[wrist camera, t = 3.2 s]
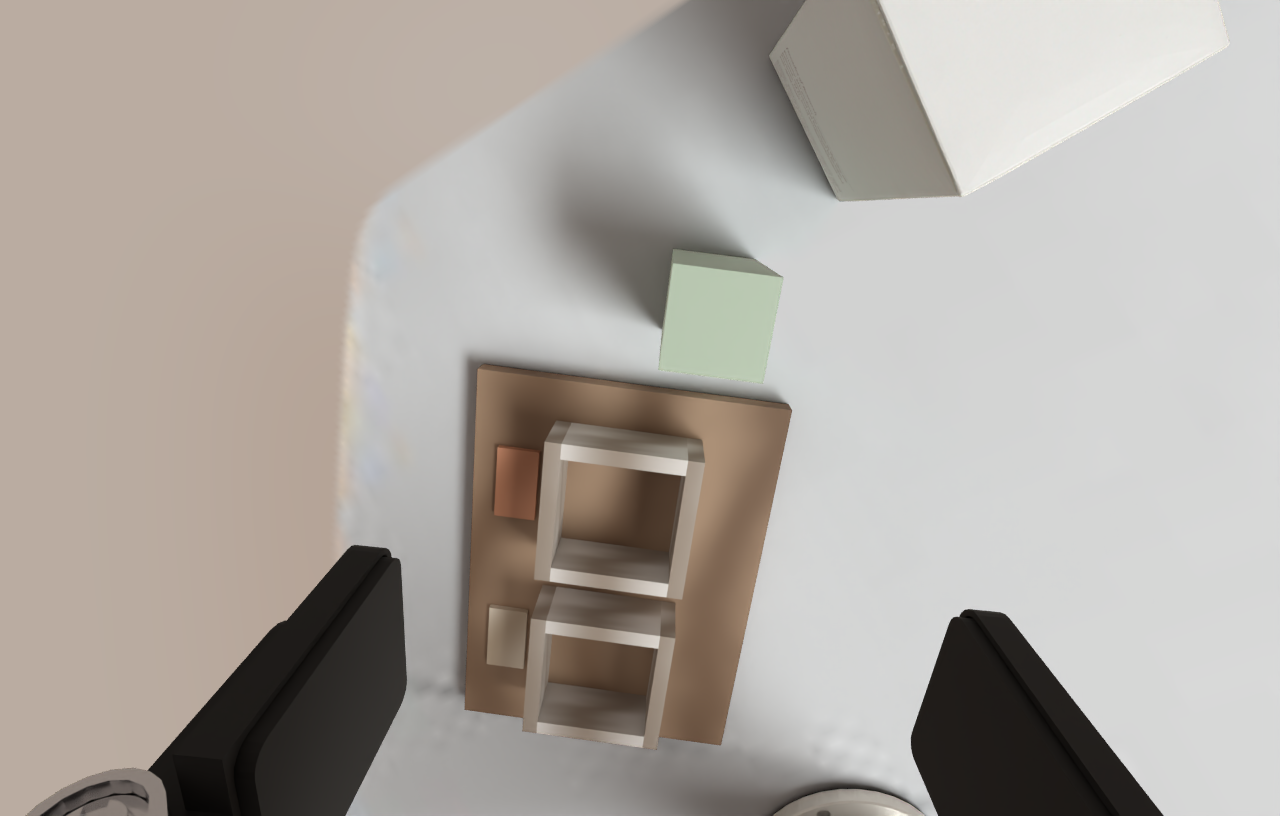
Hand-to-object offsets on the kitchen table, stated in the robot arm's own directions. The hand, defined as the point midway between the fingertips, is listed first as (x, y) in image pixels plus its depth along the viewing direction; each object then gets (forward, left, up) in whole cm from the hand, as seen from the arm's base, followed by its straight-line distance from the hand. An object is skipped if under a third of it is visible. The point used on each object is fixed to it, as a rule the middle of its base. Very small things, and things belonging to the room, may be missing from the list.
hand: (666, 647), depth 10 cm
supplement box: (-7, -13, -22) cm, 27 cm away
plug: (-1, -3, -22) cm, 22 cm away
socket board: (+2, +13, -22) cm, 25 cm away
